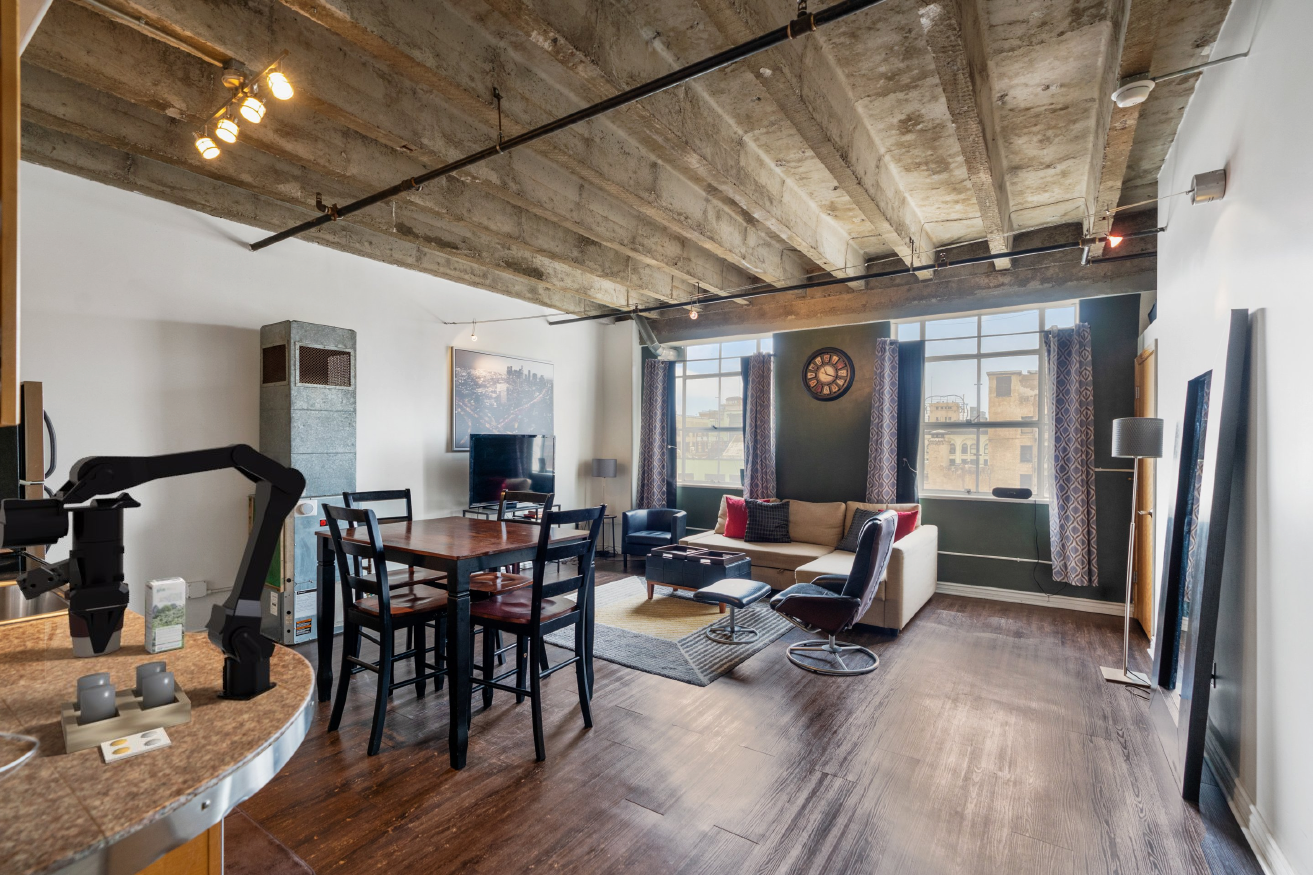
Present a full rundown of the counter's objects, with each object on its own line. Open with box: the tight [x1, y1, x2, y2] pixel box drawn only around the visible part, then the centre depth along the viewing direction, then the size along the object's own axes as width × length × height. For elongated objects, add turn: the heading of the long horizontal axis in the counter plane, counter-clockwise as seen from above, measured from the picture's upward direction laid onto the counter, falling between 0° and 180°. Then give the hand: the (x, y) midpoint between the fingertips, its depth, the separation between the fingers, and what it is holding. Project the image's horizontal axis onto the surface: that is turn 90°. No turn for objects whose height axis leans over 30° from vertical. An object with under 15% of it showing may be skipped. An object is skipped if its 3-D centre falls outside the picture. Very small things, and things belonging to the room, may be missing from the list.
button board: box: [60, 678, 192, 754], centre depth 97 cm, size 14×14×3 cm
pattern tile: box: [100, 727, 172, 764], centre depth 89 cm, size 7×7×1 cm
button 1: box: [76, 672, 111, 709], centre depth 97 cm, size 4×4×4 cm
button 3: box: [135, 660, 167, 695], centre depth 102 cm, size 4×4×4 cm
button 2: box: [81, 683, 116, 723], centre depth 92 cm, size 4×4×4 cm
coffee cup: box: [64, 582, 129, 658], centre depth 130 cm, size 10×10×15 cm
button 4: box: [143, 671, 175, 708], centre depth 97 cm, size 4×4×4 cm
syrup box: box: [144, 576, 187, 655], centre depth 132 cm, size 6×6×14 cm
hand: (97, 645), depth 93 cm, fingers open, 9 cm apart
